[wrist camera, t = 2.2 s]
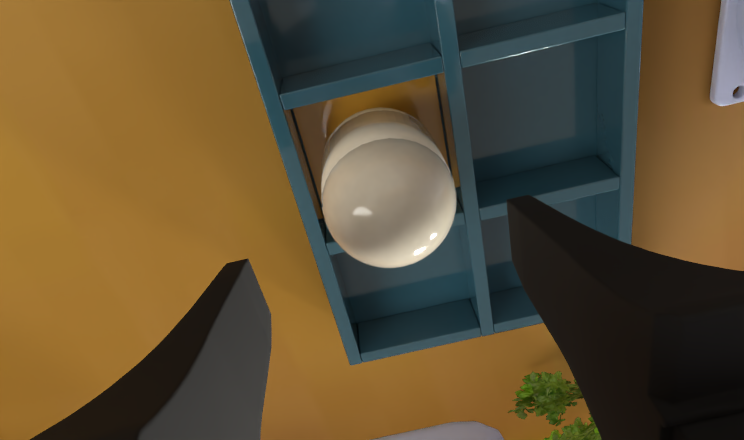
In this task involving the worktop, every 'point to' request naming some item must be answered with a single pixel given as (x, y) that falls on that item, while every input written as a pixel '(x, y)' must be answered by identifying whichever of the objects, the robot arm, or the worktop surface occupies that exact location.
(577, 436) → the celery
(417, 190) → the egg
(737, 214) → the worktop surface
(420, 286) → the teal compartment tray
